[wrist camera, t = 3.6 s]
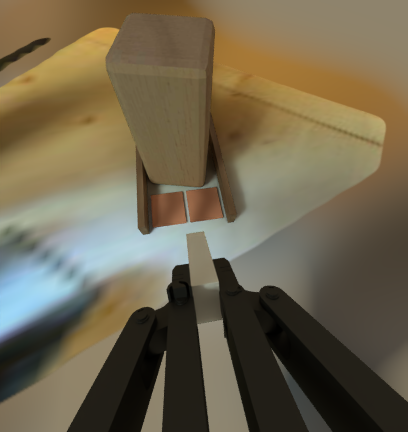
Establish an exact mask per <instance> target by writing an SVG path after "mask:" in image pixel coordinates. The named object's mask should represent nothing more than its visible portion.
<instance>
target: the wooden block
mask: <svg viewBox="0 0 408 432" xmlns="http://www.w3.org/2000/svg"><path fill="white" fill-rule="evenodd" d="M214 38H215V29H214V25H213V22H212V21H211V20H209V19H207V18H199V17H185V16H171V15H157V14H143V13H142V14H141V13H132V14H130V15H128V16H127V17H126V19H125V21H124V23H123V25H122V27H121V29H120V31H119V32H118V34H117V36H116V38H115V40H114V42H113V44H112V46H111V48H110V50H109V52H108V54H107V56H106V69H107V72H108V75H109V77H110V80H111V82H112V85H113V87H114V90H115V92H116V95H117V98H118V100H119V103H120V105H121V108H122V110H123V113H124V115H125V118H126V121H127V123H128V126H129V128H130V131H131V133H132V136H133V138H134V141H135V144H136V146H137V149H138V151H139V154H140V156H141V159H142V161H143V164H144V167H145V169H146V172H147V174H148V177H149V179H150V181H151V182H152V183H155V184H165V185H178V186H190V187H202V186H203V184H204V183H205V176H206V166H207V155H208V142H209V125H210V107H211V90H212V73H213V55H214Z"/></svg>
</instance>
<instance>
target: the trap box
mask: <svg viewBox="0 0 408 432" xmlns="http://www.w3.org/2000/svg"><path fill="white" fill-rule="evenodd" d="M209 143H210V148H211V152H212V156H213V161H214V165H215V169H216V174H217V178H218V182H219V187H220V191H221V195H222V200H223V204H224V208H225V213H226V217H227V221H228V223H229V222H234V220H235V217H236V215H237V213H236V210H235V206H234V202H233V198H232V194H231V190H230V186H229V182H228V178H227V174H226V170H225V167H224V163H223V159H222V155H221V151H220V147H219V143H218V139H217V135H216V131H215V128H214V124H213V120H212V116H211V112H210V125H209ZM136 172H137V213H138V229H139V230H140V231H141V233H142V234H143V235H145V234H149V215H148V195H147V176H146V169H145V167H144V164H143V161H142V159H141V156H140V154H139V151H138V149H137V146H136ZM186 194H187V201H188V208H189V215H190V222H196V221H204V220H211V219H218V218H223V215H222V210H221V206H220V201H219V197H218V192H217V188H216V187H214V188H206V189H198V190H190V191H186ZM151 206H152V223H153V228H154V227H161V226H168V225H175V224H182V223H186V216H185V209H184V201H183V194H182V192H174V193H166V194H158V195H151Z"/></svg>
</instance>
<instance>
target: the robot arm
mask: <svg viewBox="0 0 408 432" xmlns="http://www.w3.org/2000/svg"><path fill="white" fill-rule="evenodd" d="M186 236H187V247H188V258H189V264H184V265H177V266H175V267H174V269H173V270H172V283H170V284H169V286H168V287H167V294H168V299H169V302H168V303H167V304H166V305H165V306H164V307H162V308H160V309H158V310H154V309H152V308H150V307H143V308H140V309H138V310H136V311H135V312H134V313H133V314H132V315H131V316H130V318H129V320H128V322H127V323H126V325H125V327H124V329H123V331H122V332H121V334H120V336H119V338H118V340H117V341H116V343H115V345H114V347H113V349H112V351H111V352H110V354H109V356H108V358H107V360H106V361H105V363H104V365H103V367H102V369H101V370H100V372H99V374H98V376H97V378H96V380H95V381H94V383H93V385H92V387H91V389H90V390H89V392H88V394H87V396H86V398H85V400H84V401H83V403H82V405H81V407H80V409H79V410H78V412H77V414H76V416H75V418H74V419H73V422H72V423H71V425H70V427H69V429H68V431H67V432H141V429H142V425H143V422H144V419H145V415H146V412H147V409H148V405H149V401H150V399H151V395H152V392H153V389H154V385H155V382H156V379H157V375H158V372H159V368H160V365H161V362H162V358H163V355H164V351H166V368H165V387H164V405H163V423H162V432H209V424H208V415H207V406H206V396H205V388H204V378H203V369H202V361H201V352H200V343H199V334H198V327H197V324H201V323H206V322H212V321H217V320H222V318H223V325H224V337H225V338H226V339H227V343H228V347H229V351H230V355H231V360H232V364H233V367H234V371H235V376H236V380H237V384H238V388H239V392H240V396H241V400H242V404H243V408H244V412H245V416H246V420H247V424H248V428H249V432H309V431H308V429H307V427H306V425H305V423H304V420H303V418H302V416H301V414H300V411H299V409H298V407H297V405H296V403H295V401H294V398H293V396H292V394H291V392H290V389H289V387H288V385H287V383H286V381H285V378H284V376H283V374H282V372H281V370H280V368H279V365H278V363H277V361H276V359H275V357H274V354H273V352H272V350H273V351H274V353H275V354H276V355H277V357H278V358H279V359H280V361H281V362H282V364H283V365H284V366H285V368H286V369H287V370H288V372H289V373H290V374H291V376H292V377H293V379H294V380H295V381H296V383H297V384H298V385H299V387H300V388H301V389H302V391H303V392H304V394H305V395H306V396H307V398H308V399H309V400H310V402H311V403H312V404H313V405H314V407H315V409H316V410H317V411H318V413H319V414H320V415H321V417H322V418H323V419H324V421H325V422H326V424H327V425H328V426H329V428H330V429H331V430H332V432H408V402H407V401H406V400H404V398H403V397H401V396H400V395H399V394H398V393H397V392H396V391H394V389H392V388H391V387H390V386H389V385H388V384H387V383H386V382H385V381H384V380H382V379H381V378H380V377H379V376H378V375H377V374H376V373H375V372H373V371H372V370H371V369H370V368H369V367H368V366H367V365H366V364H364V363H363V362H362V361H361V360H360V359H359V358H358V357H357V356H356V355H354V354H353V353H352V352H351V351H350V350H349V349H348V348H346V347H345V346H344V345H343V344H342V343H341V342H340V341H339V340H337V338H335V337H334V336H333V335H332V334H331V333H330V332H329V331H328V330H326V329H325V328H324V327H323V326H322V325H321V324H320V323H319V322H317V321H316V320H315V319H314V318H313V317H312V316H311V315H309V313H307V312H306V311H305V310H304V309H303V308H302V307H301V306H300V305H298V304H297V303H296V302H295V301H294V300H293V299H292V298H291V297H289V296H288V295H287V294H286V293H285V292H284V291H283V290H281V289H280V288H278V287H275V286H264V287H263V288H261V289H260V291H259V292H250V291H246V290H244V289H243V287H242V286H240V285H239V284H238V281H237V279H236V277H235V274H234V272H233V270H232V268H231V265H230V263H229V261H228V260H226V259H225V258H219V259H213V260H212V257H211V254H210V251H209V247H208V244H207V241H206V237H205V234H204V232H197V233H190V234H186ZM270 347H271V348H270ZM271 349H272V350H271Z"/></svg>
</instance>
